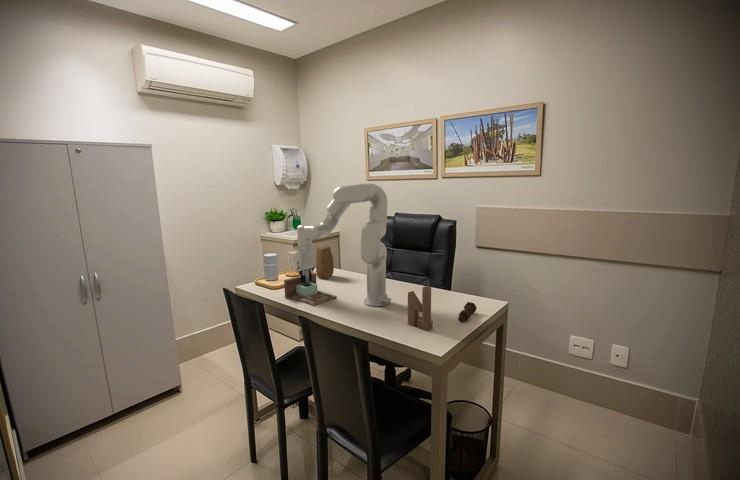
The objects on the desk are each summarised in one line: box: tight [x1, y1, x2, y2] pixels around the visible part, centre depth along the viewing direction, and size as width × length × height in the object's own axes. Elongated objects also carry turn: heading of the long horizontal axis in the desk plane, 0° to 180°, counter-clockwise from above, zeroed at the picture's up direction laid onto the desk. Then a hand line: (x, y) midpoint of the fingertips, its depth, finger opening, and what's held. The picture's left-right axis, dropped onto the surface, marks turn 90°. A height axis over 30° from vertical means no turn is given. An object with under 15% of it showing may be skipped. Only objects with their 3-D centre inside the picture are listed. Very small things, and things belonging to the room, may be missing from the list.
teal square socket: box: [296, 283, 319, 297], centre depth 194 cm, size 8×8×5 cm
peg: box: [303, 269, 310, 287], centre depth 193 cm, size 3×3×12 cm
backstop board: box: [283, 272, 338, 307], centre depth 191 cm, size 24×20×10 cm
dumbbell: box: [458, 301, 477, 323], centre depth 160 cm, size 6×5×15 cm
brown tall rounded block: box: [315, 245, 335, 280], centre depth 231 cm, size 11×8×20 cm
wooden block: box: [407, 285, 434, 332], centre depth 150 cm, size 4×11×18 cm, turn 44°
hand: (306, 281), depth 193 cm, fingers closed on peg, 3 cm apart
